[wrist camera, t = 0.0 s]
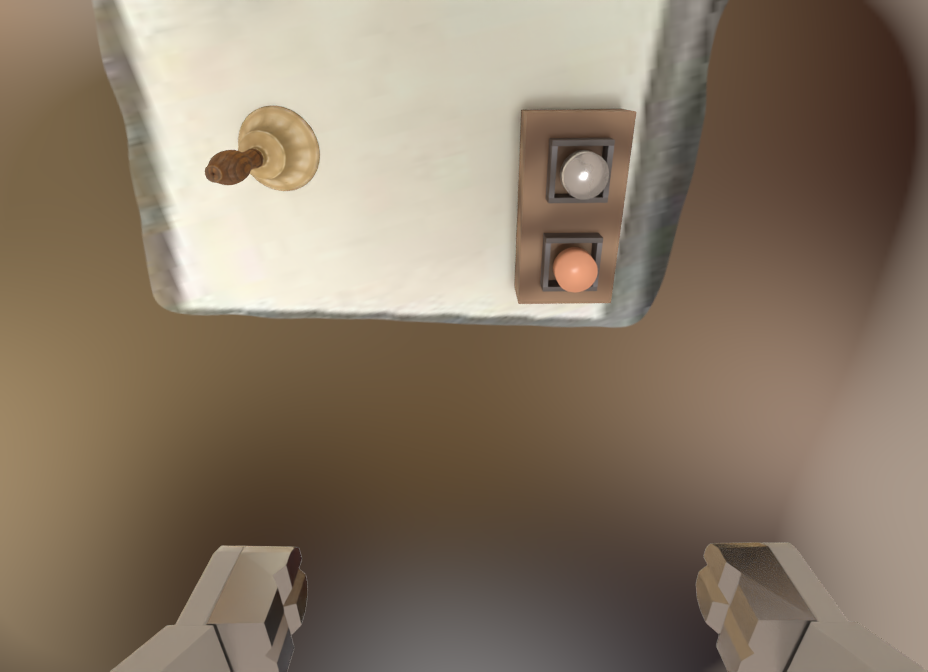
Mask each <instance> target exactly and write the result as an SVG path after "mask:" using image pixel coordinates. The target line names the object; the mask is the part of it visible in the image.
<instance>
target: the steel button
mask: <svg viewBox="0 0 928 672" xmlns="http://www.w3.org/2000/svg"><path fill="white" fill-rule="evenodd" d="M608 179H609V168H608V165H607V163H606V161H605V160H604V159H603V158H602V157H601V156H599V155H597V154H596V153H594V152H592V151H589V150H579V151H576V152H574V153H572V154H570V155H569V156H568V157H567V158H566V159H565V160H564V162H563V164H562V166H561V169H560V181H561V184H562V186H563V187H564V188H565V190H566V191H567V192H568V193H569V194H570V195H571V196H573V197H575V198H577V199H582V200H586V199H591V198H593V197H595V196H597V195H598V194H600V193H601V192H602V191H603V189H604V188H605V187H606V185H607V182H608Z"/></svg>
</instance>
